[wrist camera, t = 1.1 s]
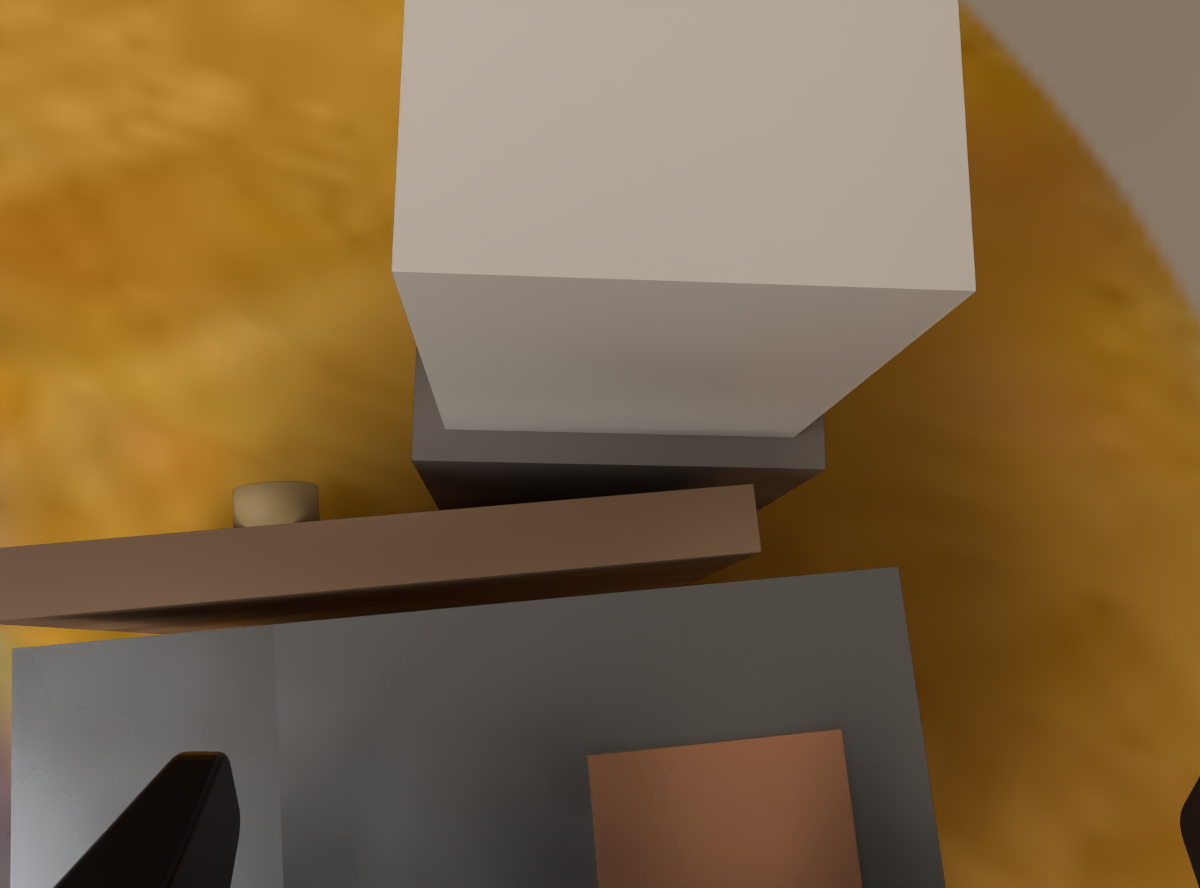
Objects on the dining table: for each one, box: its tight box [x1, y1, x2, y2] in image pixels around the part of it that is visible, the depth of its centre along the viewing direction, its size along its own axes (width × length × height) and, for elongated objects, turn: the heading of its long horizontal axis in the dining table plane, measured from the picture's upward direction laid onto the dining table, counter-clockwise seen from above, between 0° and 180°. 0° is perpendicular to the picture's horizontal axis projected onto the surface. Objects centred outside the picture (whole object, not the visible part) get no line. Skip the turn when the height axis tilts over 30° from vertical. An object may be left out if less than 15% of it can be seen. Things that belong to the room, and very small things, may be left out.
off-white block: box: [392, 0, 976, 437], centre depth 14 cm, size 5×6×7 cm
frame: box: [0, 481, 761, 634], centre depth 18 cm, size 12×11×8 cm
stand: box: [411, 345, 825, 511], centre depth 21 cm, size 6×6×7 cm
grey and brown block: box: [11, 567, 945, 888], centre depth 17 cm, size 8×12×6 cm, turn 96°
